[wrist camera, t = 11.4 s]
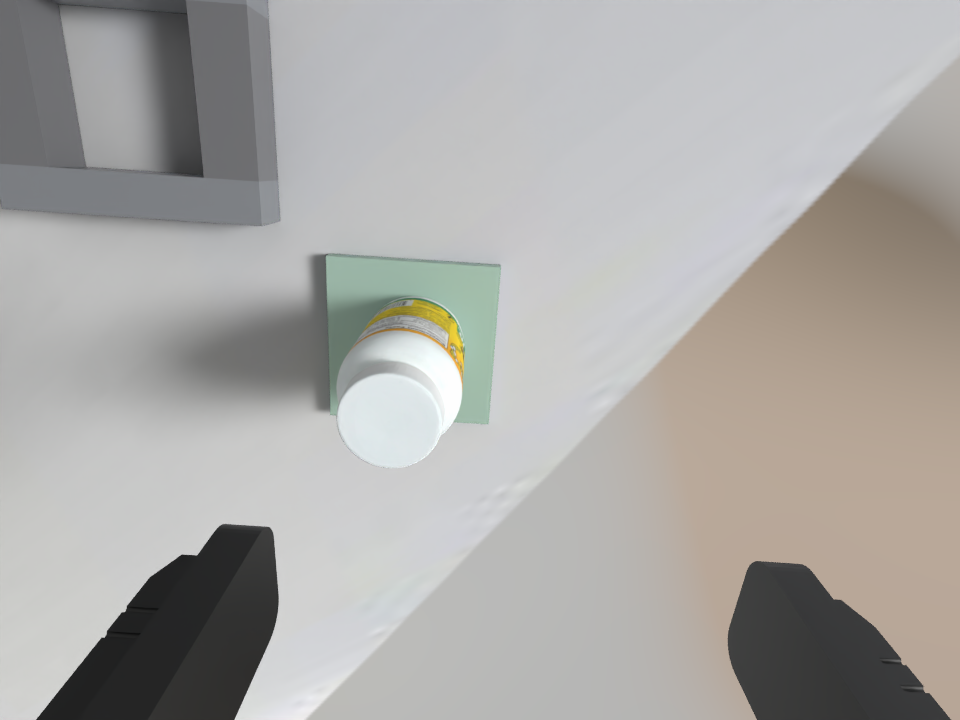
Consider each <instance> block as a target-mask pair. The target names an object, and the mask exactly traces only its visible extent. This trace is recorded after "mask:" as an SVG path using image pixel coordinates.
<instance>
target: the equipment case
mask: <svg viewBox="0 0 960 720" xmlns="http://www.w3.org/2000/svg"><path fill="white" fill-rule="evenodd" d="M58 4H67V5H80V6H93V7H106V8H119V9H132V10H145V11H158V12H171V13H184V14H187V16H188V26H189V36H190V46H191V56H192V65H193V75H194V85H195V95H196V105H197V115H198V125H199V135H200V145H201V155H202V164H203V174H204V175H194V174H179V173H165V172H151V171H136V170H122V169H107V168H93V167H86V165H85V159H84V153H83V148H82V142H81V136H80V130H79V124H78V118H77V112H76V106H75V100H74V95H73V89H72V83H71V77H70V71H69V65H68V59H67V53H66V48H65V42H64V36H63V30H62V24H61V18H60V12H59V6H58ZM0 201H1V205H2V209H13V210H28V211H43V212H58V213H73V214H88V215H102V216H117V217H132V218H147V219H162V220H177V221H192V222H207V223H222V224H237V225H252V226H264V225H268V224H272V223H275V222H279V221H280V208H279V191H278V173H277V156H276V138H275V121H274V103H273V86H272V68H271V51H270V33H269V16H268V0H0Z"/></svg>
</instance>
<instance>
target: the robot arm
mask: <svg viewBox="0 0 960 720" xmlns="http://www.w3.org/2000/svg"><path fill="white" fill-rule="evenodd" d="M278 602H279V597H278V584H277V572H276V559H275V547H274V536H273V532H272V530H271V528H269V527H261V526H246V525H231V524H223V525H221V526H219V527H218V528H217V529H216V531H215V532H214V533H213V535H212V536H211V537H210V539H209V540H208V542H207V543H206V544H205V546H204V547H203V548H202V550H201V551H200V553H199V554H198V555H197V556H195V555H181V556H179V557H178V558H177V559H175V560H174V561H172V562H171V563H170V564H168V565H167V566H165V567H164V568H163V569H161V570H160V571H158V572H157V573H156V574H154V575H153V576H151V577H150V578H149V579H148V581H147V582H146V583H145V584H144V586H143V587H142V588H141V589H140V591H139V592H138V593H137V594H136V596H135V597H134V598H133V599H132V601H131V602H130V603H129V604H128V606H127V609H126V612H122V613H121V614H120V616H119V617H118V618H117V619H116V621H115V622H114V623H113V624H112V626H111V627H110V628H109V629H108V631H107V635H106V637H105V638H101V639H100V641H99V642H98V643H97V644H96V646H95V647H94V648H93V649H92V651H91V652H90V653H89V654H88V656H87V657H86V658H85V659H84V661H83V662H82V663H81V664H80V666H79V667H78V668H77V669H76V671H75V672H74V673H73V674H72V676H71V677H70V678H69V679H68V681H67V682H66V683H65V684H64V686H63V687H62V688H61V689H60V691H59V692H58V693H57V694H56V696H55V697H54V698H53V699H52V701H51V702H50V703H49V704H48V706H47V707H46V708H45V709H44V711H43V712H42V713H41V714H40V716H39V717H38V718H37V719H36V720H234V719H235V717H236V715H237V713H238V710H239V708H240V706H241V704H242V701H243V699H244V697H245V695H246V693H247V690H248V688H249V686H250V684H251V681H252V679H253V677H254V675H255V672H256V670H257V668H258V666H259V664H260V661H261V659H262V657H263V655H264V652H265V650H266V648H267V646H268V644H269V641H270V639H271V636H272V634H273V630H274V627H275V623H276V618H277V613H278ZM728 650H729V656H730V660H731V664H732V667H733V669H734V672H735V674H736V676H737V679H738V681H739V683H740V685H741V687H742V689H743V691H744V693H745V695H746V697H747V700H748V702H749V704H750V706H751V708H752V710H753V712H754V714H755V716H756V718H757V720H951V719H950V718H949V717H948V716H947V714H946V713H945V712H944V711H943V709H942V708H941V707H940V706H939V705H938V703H937V702H936V701H935V700H934V698H933V697H932V696H931V695H930V694H929V693H925V692H924V690H923V685H922V684H921V683H920V681H919V680H918V679H917V678H916V676H915V675H914V674H913V673H912V672H911V670H910V669H909V668H908V667H907V666H906V665H902V663H901V658H900V657H899V656H898V654H897V653H896V652H895V651H894V650H893V648H892V647H891V646H890V645H889V644H888V642H887V641H886V640H885V639H884V638H883V636H882V635H881V634H880V633H879V631H878V630H877V629H876V628H875V627H874V626H873V625H872V624H871V623H869V622H868V621H867V620H865V619H864V618H863V617H862V616H860V615H859V614H858V613H857V612H855V611H854V610H853V609H851V608H850V607H849V606H848V605H847V604H845V603H844V602H843V601H841V600H834V599H833V598H832V597H831V596H830V594H829V593H828V592H827V591H826V589H825V588H824V587H823V585H822V584H821V583H820V582H819V580H818V579H817V578H816V576H815V575H814V574H813V572H812V571H811V570H810V569H809V568H807V567H806V566H804V565H802V564H791V563H776V562H775V563H774V562H761V561H756V562H753V563H752V564H751V565H750V566H749V568H748V570H747V572H746V576H745V579H744V582H743V585H742V588H741V592H740V595H739V598H738V601H737V605H736V608H735V611H734V614H733V618H732V621H731V624H730V627H729V632H728Z"/></svg>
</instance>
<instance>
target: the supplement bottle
mask: <svg viewBox="0 0 960 720" xmlns="http://www.w3.org/2000/svg"><path fill="white" fill-rule="evenodd" d="M464 358H465V341H464V336H463V333H462V330H461V327H460V325H459V323H458V320H457V319H456V317H455V316H454V315H453V314H452V312H451V311H450V310H448V309H447V308H446V307H445V306H443V305H442V304H440V303H438V302H436V301H434V300H431V299H429V298H425V297H418V296H410V297H403V298H399V299H396V300H393V301H391V302H389V303H387V304H386V305H384V306H383V307H382V308H381V309H379V310H378V311H377V313H376V314H375V315H374V316H373V317H372V319H371V320H370V321H369V323H368V325H367V326H366V328H365V329H364V331H363V332H362V334H361V335H360V337H359V338H358V340H357V341H356V343H355V344H354V345H353V347H352V348H351V350H350V351H349V353H348V354H347V356H346V357H345V359H344V361H343V363H342V365H341V367H340V370H339V373H338V378H337V386H336V389H337V399H338V403H339V404H338V408H337V415H336V420H337V427H338V431H339V434H340V436H341V438H342V440H343V442H344V443H345V445H346V446H347V448H348V449H349V450H350V451H351V452H352V453H353V454H354V455H356V456H357V457H358V458H360V459H361V460H363V461H365V462H367V463H369V464H372V465H375V466H378V467H383V468H401V467H406V466H409V465H413V464H415V463H417V462H419V461H420V460H422V459H423V458H425V457H426V456H427V455H428V454H429V453H430V452H431V451H432V450H433V449H434V447H435V446H436V444H437V442H438V440H439V437H440V436H441V435H442V434H444V433H445V432H446V431H447V429H448V428H449V427H450V426H451V425H452V423H453V421H454V420H455V418H456V416H457V414H458V411H459V408H460V405H461V400H462V391H463V374H464Z"/></svg>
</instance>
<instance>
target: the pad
mask: <svg viewBox="0 0 960 720" xmlns="http://www.w3.org/2000/svg"><path fill="white" fill-rule="evenodd" d="M500 273H501V266H500V265H495V264H480V263H465V262H449V261H434V260H419V259H404V258H389V257H374V256H358V255H343V254H328V255H327V256H326V281H327V315H328V348H329V381H330V415H337V408H338V404H339V403H338V399H337V389H336V386H337V378H338V373H339V370H340V367H341V365H342V363H343V361H344V359H345V357H346V356H347V354H348V353H349V351H350V350H351V348H352V347H353V345H354V344H355V343H356V341H357V340H358V338H359V337H360V335H361V334H362V332H363V331H364V329H365V328H366V326H367V325H368V323H369V321H370V320H371V319H372V317H373V316H374V315H375V314H376V313H377V311H378V310H379V309H381V308H382V307H383V306H384V305H386V304H387V303H389V302H391V301H393V300H396V299H399V298H403V297H410V296H418V297H425V298H429V299H431V300H434V301H436V302H438V303H440V304H442V305H443V306H445V307H446V308H447V309H448V310H450V311H451V312H452V314H453V315H454V316H455V317H456V319H457V320H458V323H459V325H460V327H461V330H462V333H463V336H464V341H465V358H464V374H463V391H462V400H461V405H460V408H459V411H458V414H457V416H456V418H455V420H454V421H453V422H459V423H476V424H489V411H490V399H491V386H492V374H493V361H494V348H495V336H496V323H497V311H498V298H499V286H500Z"/></svg>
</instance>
